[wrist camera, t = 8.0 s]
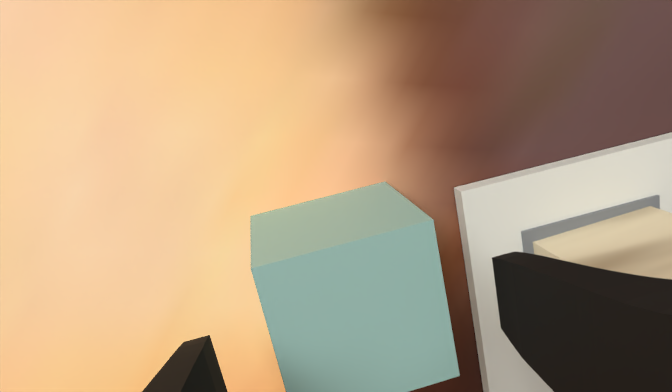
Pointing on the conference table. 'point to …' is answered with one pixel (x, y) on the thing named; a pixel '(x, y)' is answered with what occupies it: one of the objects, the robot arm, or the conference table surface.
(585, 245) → the maple cube
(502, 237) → the white flat square plate
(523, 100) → the conference table surface
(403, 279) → the teal cube
